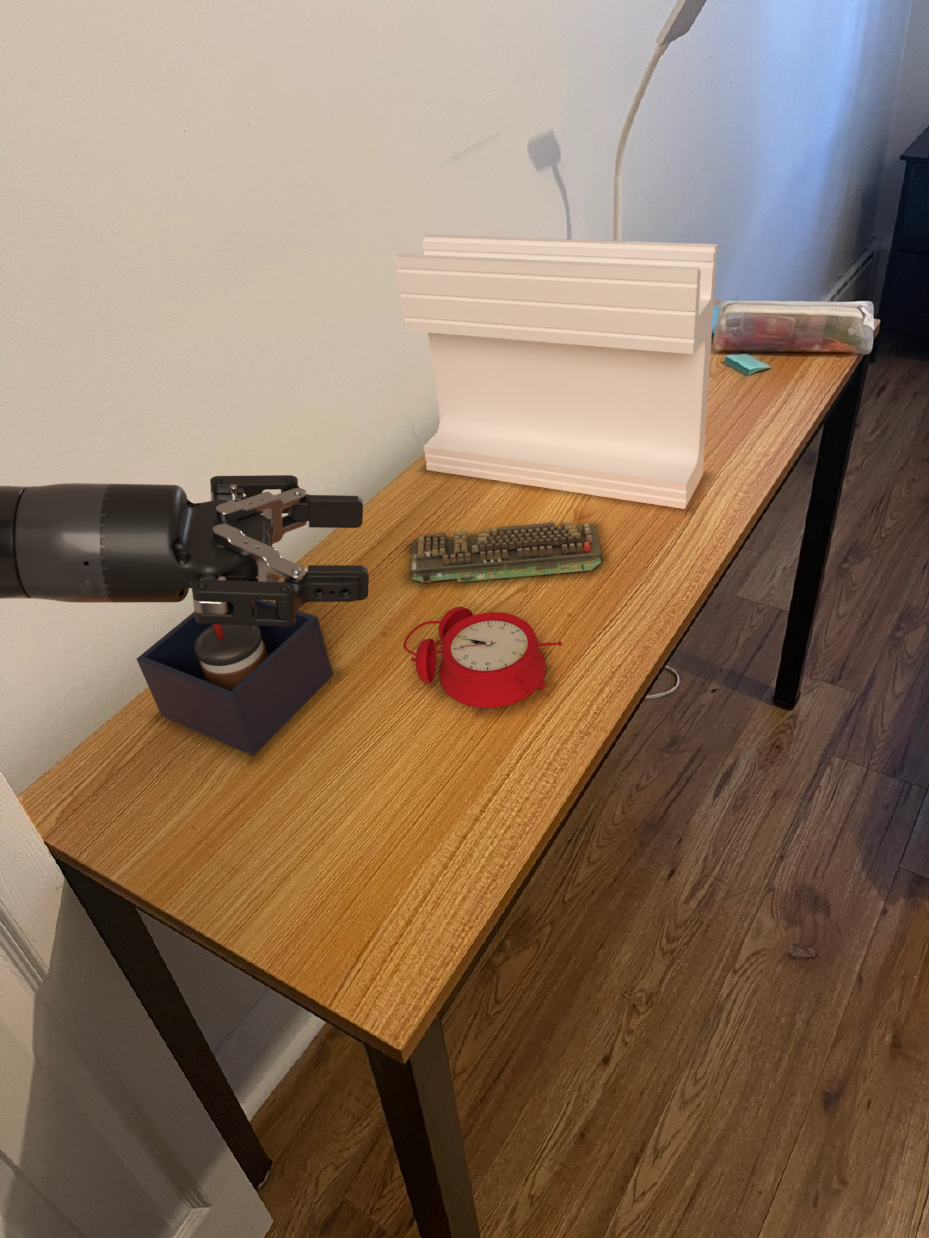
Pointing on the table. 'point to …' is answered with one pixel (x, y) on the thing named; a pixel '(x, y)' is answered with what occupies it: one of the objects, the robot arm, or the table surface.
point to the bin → (253, 702)
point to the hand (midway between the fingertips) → (365, 545)
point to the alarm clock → (483, 658)
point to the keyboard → (506, 553)
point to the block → (567, 361)
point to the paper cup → (229, 653)
